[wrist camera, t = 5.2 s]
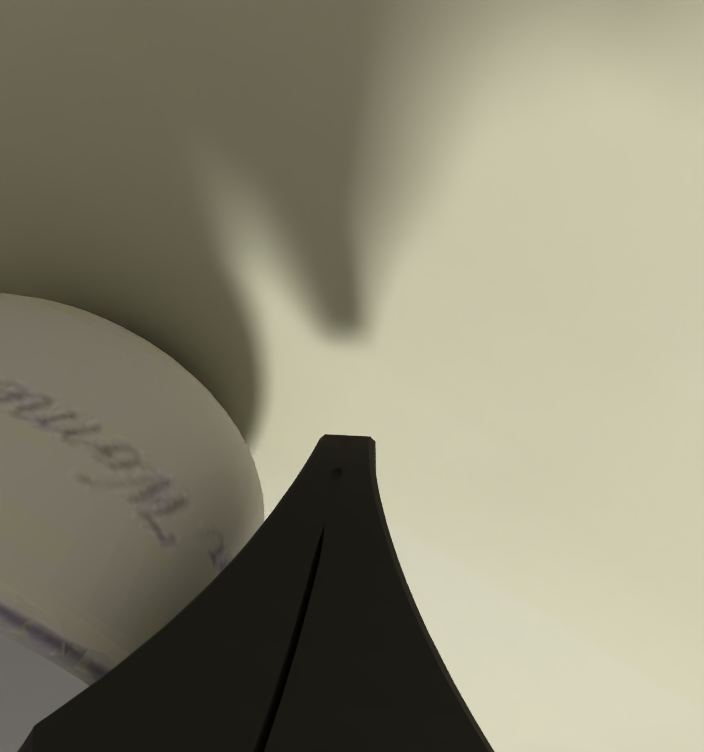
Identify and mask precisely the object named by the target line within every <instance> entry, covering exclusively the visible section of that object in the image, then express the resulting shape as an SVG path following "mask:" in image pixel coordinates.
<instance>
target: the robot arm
mask: <svg viewBox="0 0 704 752" xmlns="http://www.w3.org/2000/svg"><path fill="white" fill-rule="evenodd" d="M17 752H494V750H493V749H492V747H491V745H490V744H489V742H488V741H487V739H486V737H485V736H484V734H483V732H482V731H481V729H480V727H479V726H478V724H477V722H476V721H475V719H474V717H473V716H472V714H471V712H470V710H469V708H468V707H467V705H466V703H465V701H464V700H463V698H462V696H461V694H460V692H459V691H458V689H457V687H456V685H455V684H454V682H453V680H452V678H451V676H450V674H449V672H448V670H447V668H446V666H445V664H444V662H443V660H442V658H441V656H440V654H439V652H438V650H437V648H436V646H435V644H434V642H433V640H432V638H431V637H430V635H429V633H428V630H427V628H426V626H425V624H424V622H423V619H422V617H421V615H420V613H419V610H418V608H417V606H416V604H415V601H414V599H413V596H412V594H411V592H410V589H409V587H408V584H407V582H406V579H405V577H404V574H403V571H402V569H401V566H400V563H399V560H398V557H397V554H396V551H395V548H394V545H393V542H392V539H391V536H390V533H389V529H388V526H387V523H386V519H385V515H384V511H383V507H382V503H381V499H380V494H379V490H378V484H377V478H376V449H375V441H374V440H373V439H372V438H371V437H367V436H347V435H327V434H325V435H324V436H323V437H321V438H320V439H319V441H318V443H317V445H316V447H315V449H314V450H313V452H312V454H311V456H310V457H309V459H308V460H307V462H306V464H305V465H304V467H303V468H302V470H301V471H300V473H299V475H298V476H297V478H296V479H295V481H294V482H293V484H292V485H291V486H290V488H289V489H288V491H287V492H286V493H285V495H284V496H283V498H282V499H281V500H280V502H279V503H278V505H277V506H276V507H275V509H274V510H273V511H272V513H271V514H270V515H269V516H268V518H267V519H266V520H265V521H264V523H263V524H262V525H261V526H260V528H259V529H258V530H257V531H256V533H255V534H254V535H253V536H252V537H251V539H250V540H249V541H248V542H247V544H246V545H245V546H244V547H243V548H242V549H241V551H240V552H239V553H238V554H237V555H236V556H235V557H234V558H233V560H232V561H231V562H230V563H229V564H228V565H227V566H226V567H225V568H224V569H223V570H222V571H221V572H220V573H219V574H218V576H217V577H216V578H215V579H214V580H213V581H212V582H211V583H210V584H209V585H208V586H207V587H206V588H205V589H204V590H203V591H202V592H201V593H200V594H198V595H197V596H196V597H195V598H194V599H193V600H192V601H191V602H190V603H189V604H188V605H187V606H186V607H185V608H184V609H183V610H182V611H181V612H180V613H179V614H177V615H176V616H175V617H174V618H173V619H172V620H171V621H170V622H169V623H167V624H166V625H165V626H164V627H163V628H162V629H161V630H159V631H158V632H157V633H156V634H155V635H153V636H152V637H151V638H150V639H148V640H147V641H146V642H145V643H144V644H142V645H141V646H140V647H139V648H138V649H136V650H135V651H134V652H133V653H131V654H130V655H129V656H128V657H127V658H125V659H124V660H123V661H122V662H120V663H119V664H118V665H117V666H116V667H114V668H113V669H112V670H110V671H109V672H108V673H107V674H105V675H104V676H103V677H101V678H100V679H99V680H97V681H96V682H94V683H93V684H92V685H90V686H89V687H87V688H86V689H85V690H83V691H82V692H80V693H79V694H78V695H76V696H75V697H74V698H72V699H71V700H69V701H68V702H67V703H65V704H64V705H62V706H61V707H60V708H58V709H57V710H55V711H54V712H53V713H51V714H50V715H49V716H47V717H46V718H44V719H43V720H41V721H40V722H38V723H37V724H36V725H34V727H33V728H32V730H31V732H30V733H29V735H28V737H27V738H26V740H25V741H24V743H23V744H22V746H21V747H20V748H19V750H18V751H17Z"/></svg>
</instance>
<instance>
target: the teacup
mask: <svg viewBox="0 0 704 752" xmlns="http://www.w3.org/2000/svg"><path fill="white" fill-rule="evenodd" d="M263 523H264V504H263V495H262V490H261V485H260V480H259V477H258V473H257V470H256V467H255V463H254V461H253V458H252V456H251V453H250V451H249V448H248V446H247V445H246V443H245V441H244V439H243V437H242V436H241V434H240V432H239V430H238V428H237V427H236V425H235V424H234V423H233V421H232V420H231V418H230V417H229V415H228V414H227V412H226V411H225V410H224V409H223V407H222V406H221V405H220V404H219V403H218V401H217V400H216V399H215V398H214V397H213V396H212V394H211V393H210V392H209V391H208V390H207V389H206V388H205V387H204V386H203V385H202V384H201V383H200V382H199V381H198V380H197V379H196V378H195V377H194V376H193V375H192V374H190V373H189V372H188V371H187V370H186V369H184V368H183V367H182V366H181V365H180V364H179V363H177V362H176V361H175V360H174V359H173V358H171V357H170V356H169V355H168V354H166V353H165V352H163V351H162V350H160V349H159V348H157V347H156V346H154V345H153V344H151V343H150V342H148V341H147V340H145V339H143V338H141V337H140V336H138V335H136V334H134V333H132V332H130V331H129V330H127V329H125V328H123V327H121V326H119V325H118V324H115V323H113V322H111V321H109V320H106V319H104V318H102V317H99V316H97V315H95V314H92V313H90V312H87V311H85V310H82V309H79V308H76V307H73V306H69V305H66V304H62V303H58V302H54V301H51V300H47V299H42V298H35V297H28V296H21V295H15V294H8V293H0V752H17V751H18V750H19V748H20V747H21V746H22V744H23V743H24V741H25V740H26V738H27V737H28V735H29V733H30V732H31V730H32V728H33V727H34V725H36V724H37V723H38V722H40V721H41V720H43V719H44V718H46V717H47V716H49V715H50V714H51V713H53V712H54V711H55V710H57V709H58V708H60V707H61V706H62V705H64V704H65V703H67V702H68V701H69V700H71V699H72V698H74V697H75V696H76V695H78V694H79V693H80V692H82V691H83V690H85V689H86V688H87V687H89V686H90V685H92V684H93V683H94V682H96V681H97V680H99V679H100V678H101V677H103V676H104V675H105V674H107V673H108V672H109V671H110V670H112V669H113V668H114V667H116V666H117V665H118V664H119V663H120V662H122V661H123V660H124V659H125V658H127V657H128V656H129V655H130V654H131V653H133V652H134V651H135V650H136V649H138V648H139V647H140V646H141V645H142V644H144V643H145V642H146V641H147V640H148V639H150V638H151V637H152V636H153V635H155V634H156V633H157V632H158V631H159V630H161V629H162V628H163V627H164V626H165V625H166V624H167V623H169V622H170V621H171V620H172V619H173V618H174V617H175V616H176V615H177V614H179V613H180V612H181V611H182V610H183V609H184V608H185V607H186V606H187V605H188V604H189V603H190V602H191V601H192V600H193V599H194V598H195V597H196V596H197V595H198V594H200V593H201V592H202V591H203V590H204V589H205V588H206V587H207V586H208V585H209V584H210V583H211V582H212V581H213V580H214V579H215V578H216V577H217V576H218V574H219V573H220V572H221V571H222V570H223V569H224V568H225V567H226V566H227V565H228V564H229V563H230V562H231V561H232V560H233V558H234V557H235V556H236V555H237V554H238V553H239V552H240V551H241V549H242V548H243V547H244V546H245V545H246V544H247V542H248V541H249V540H250V539H251V537H252V536H253V535H254V534H255V533H256V531H257V530H258V529H259V528H260V526H261V525H262V524H263Z"/></svg>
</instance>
